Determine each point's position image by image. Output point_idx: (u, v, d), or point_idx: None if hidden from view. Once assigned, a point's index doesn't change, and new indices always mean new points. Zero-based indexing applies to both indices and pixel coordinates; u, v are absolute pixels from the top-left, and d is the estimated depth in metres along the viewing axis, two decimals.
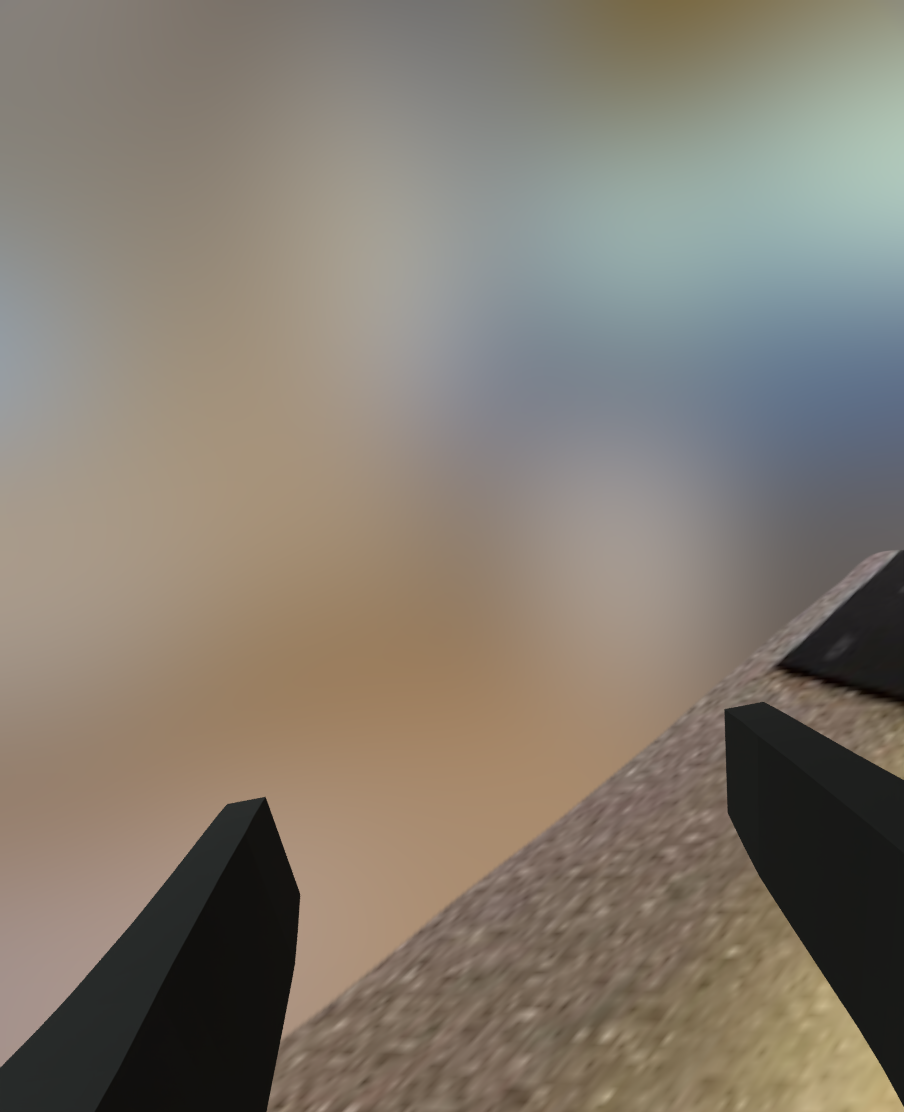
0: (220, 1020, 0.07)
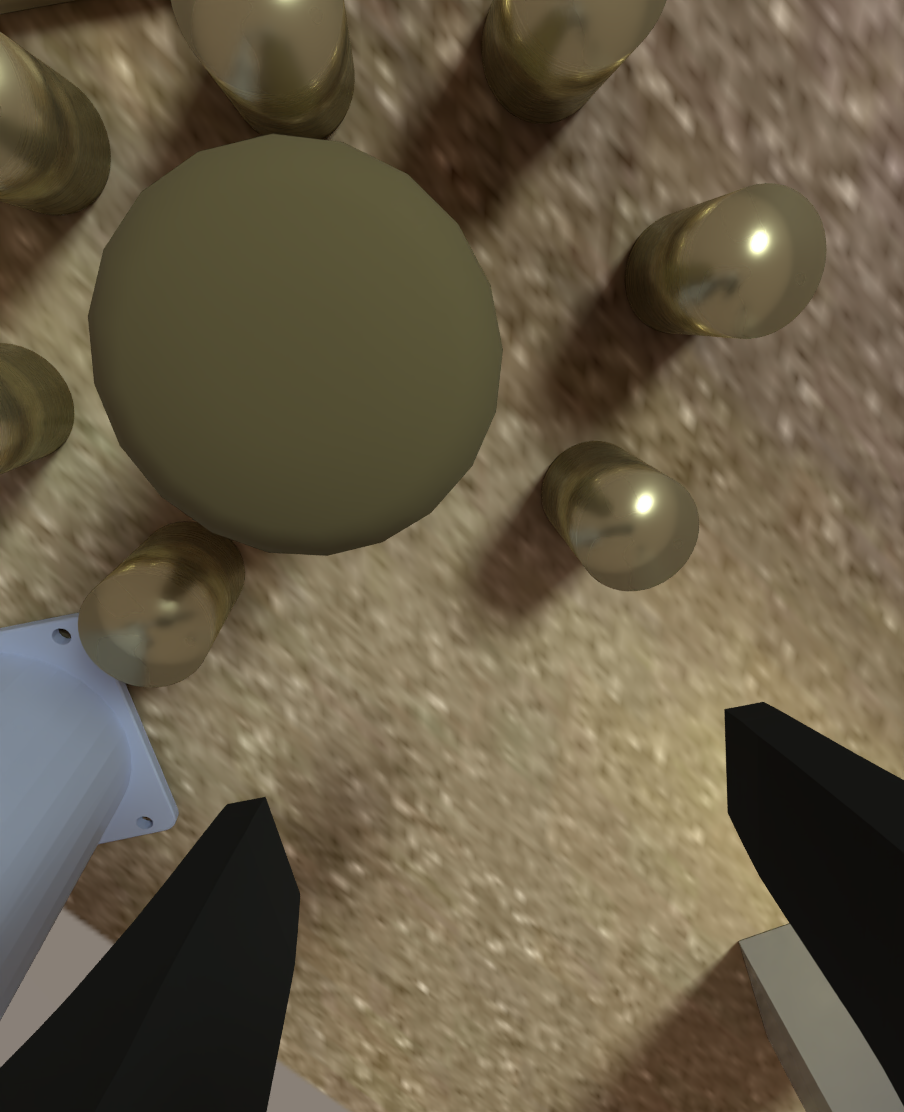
0: (220, 1020, 0.07)
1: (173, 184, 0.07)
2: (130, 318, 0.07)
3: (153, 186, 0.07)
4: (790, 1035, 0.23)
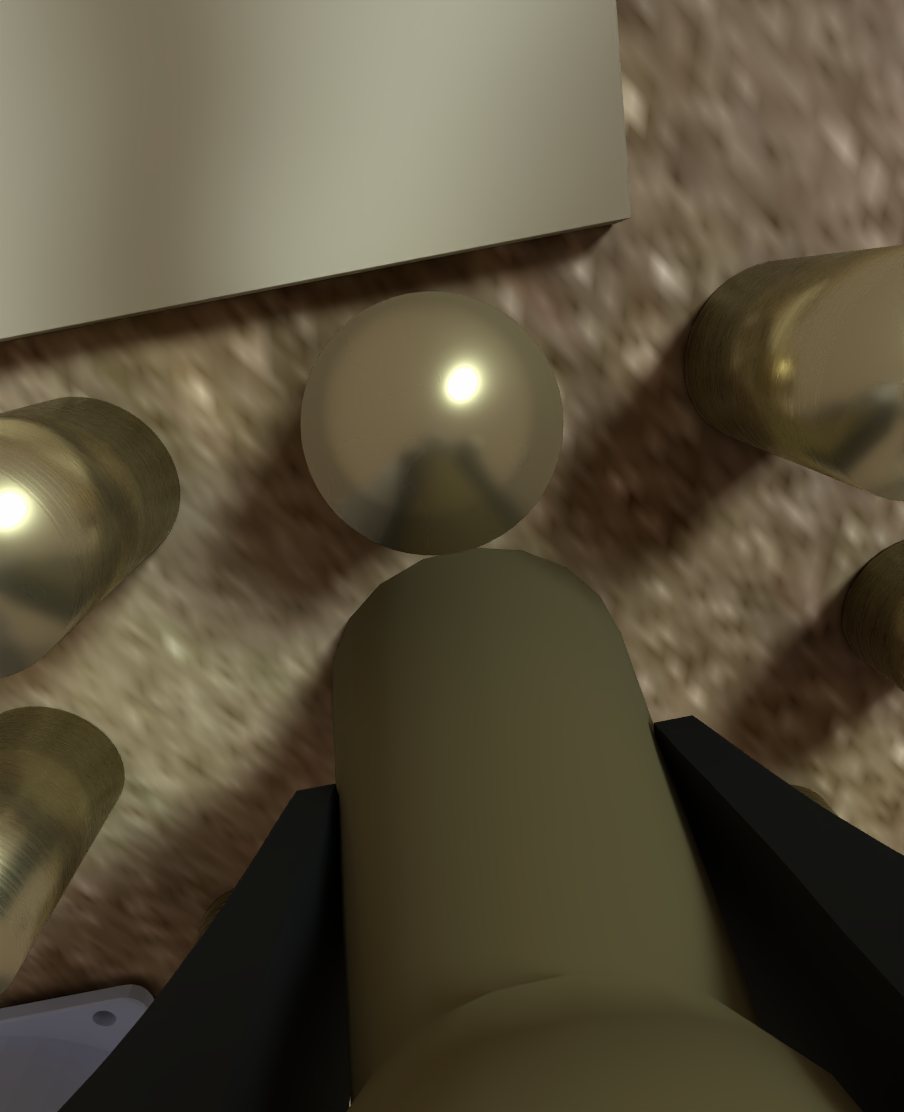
0: (311, 1003, 0.07)
1: None
2: None
3: None
4: None
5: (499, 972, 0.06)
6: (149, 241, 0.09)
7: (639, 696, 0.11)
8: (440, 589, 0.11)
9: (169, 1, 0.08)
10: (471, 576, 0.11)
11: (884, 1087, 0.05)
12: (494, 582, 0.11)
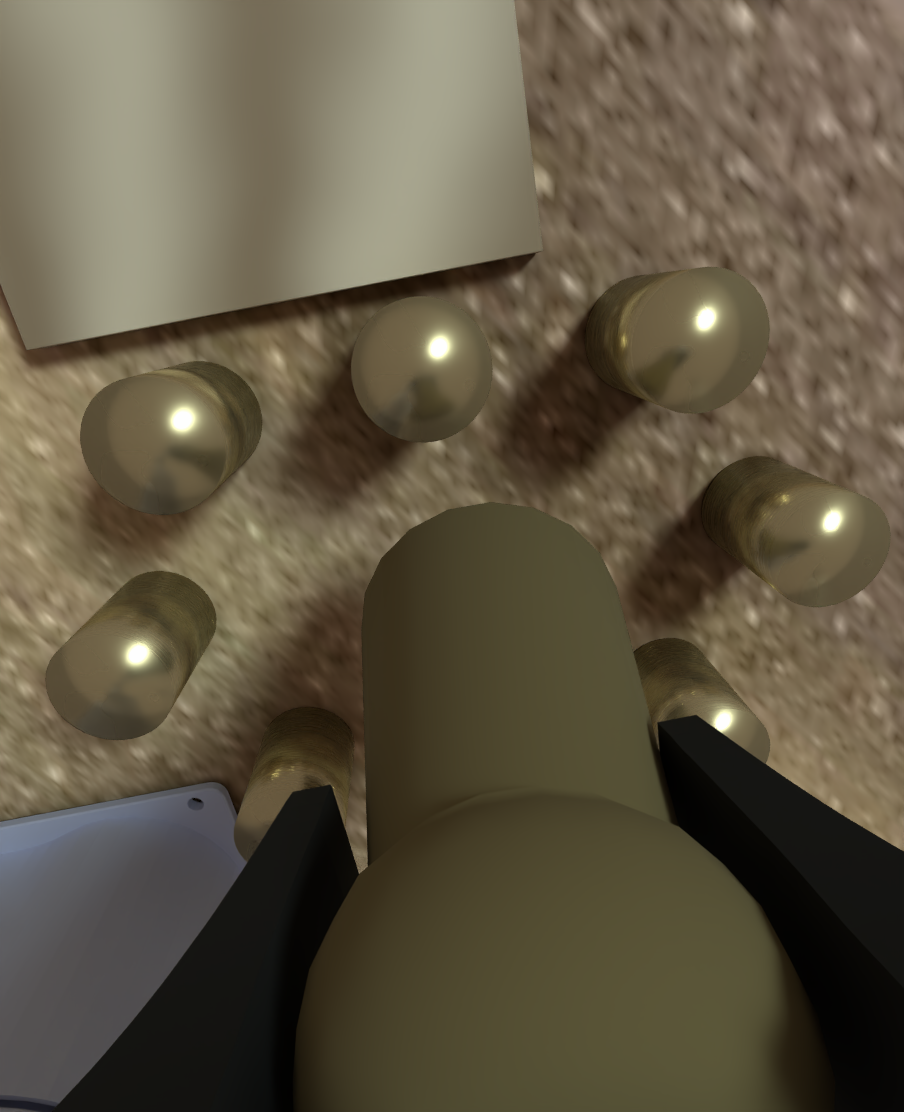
0: None
1: (449, 1040, 0.05)
2: None
3: (413, 1005, 0.05)
4: None
5: (486, 784, 0.08)
6: (254, 265, 0.16)
7: (623, 631, 0.12)
8: (460, 532, 0.13)
9: (272, 130, 0.15)
10: (487, 524, 0.13)
11: (891, 1085, 0.05)
12: (507, 529, 0.13)
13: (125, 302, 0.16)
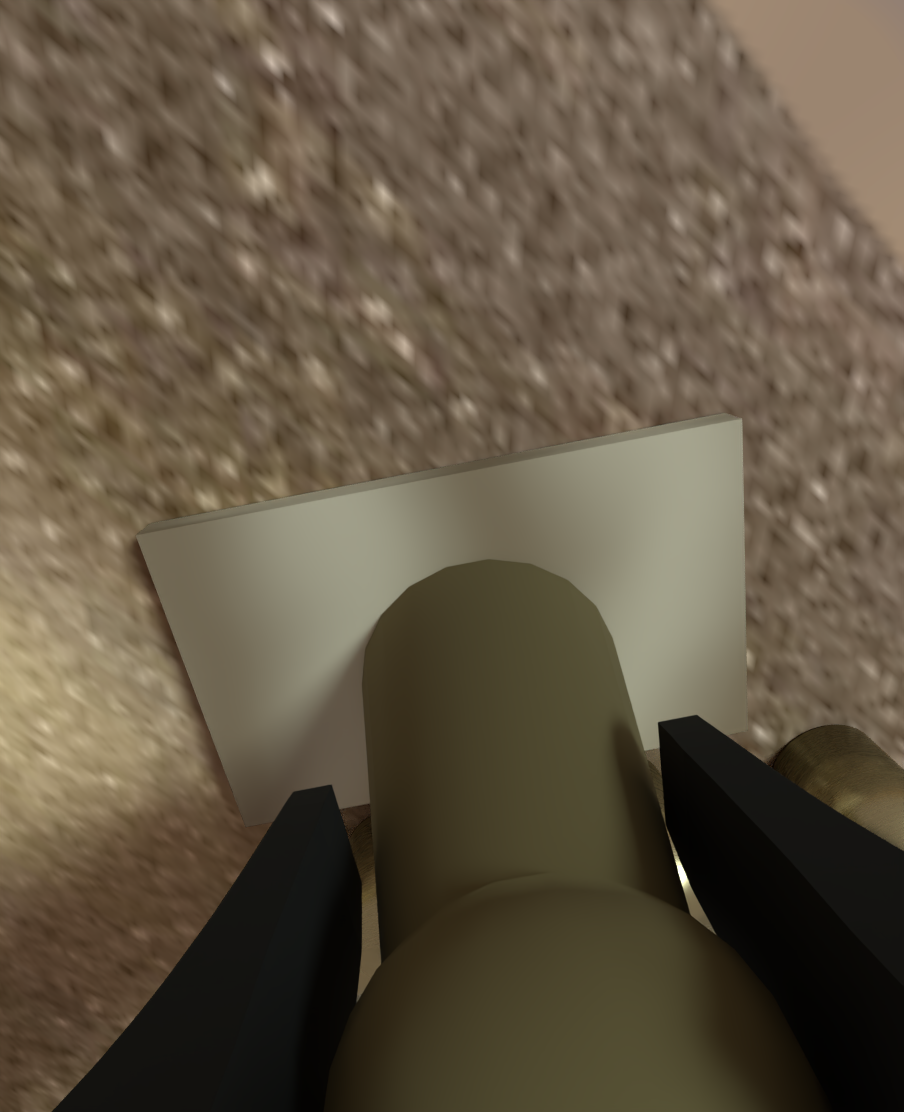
0: (307, 1004, 0.07)
1: None
2: None
3: None
4: None
5: (499, 870, 0.08)
6: None
7: (623, 689, 0.13)
8: (460, 592, 0.13)
9: None
10: (486, 583, 0.14)
11: (891, 1085, 0.05)
12: (506, 589, 0.13)
13: (345, 787, 0.16)
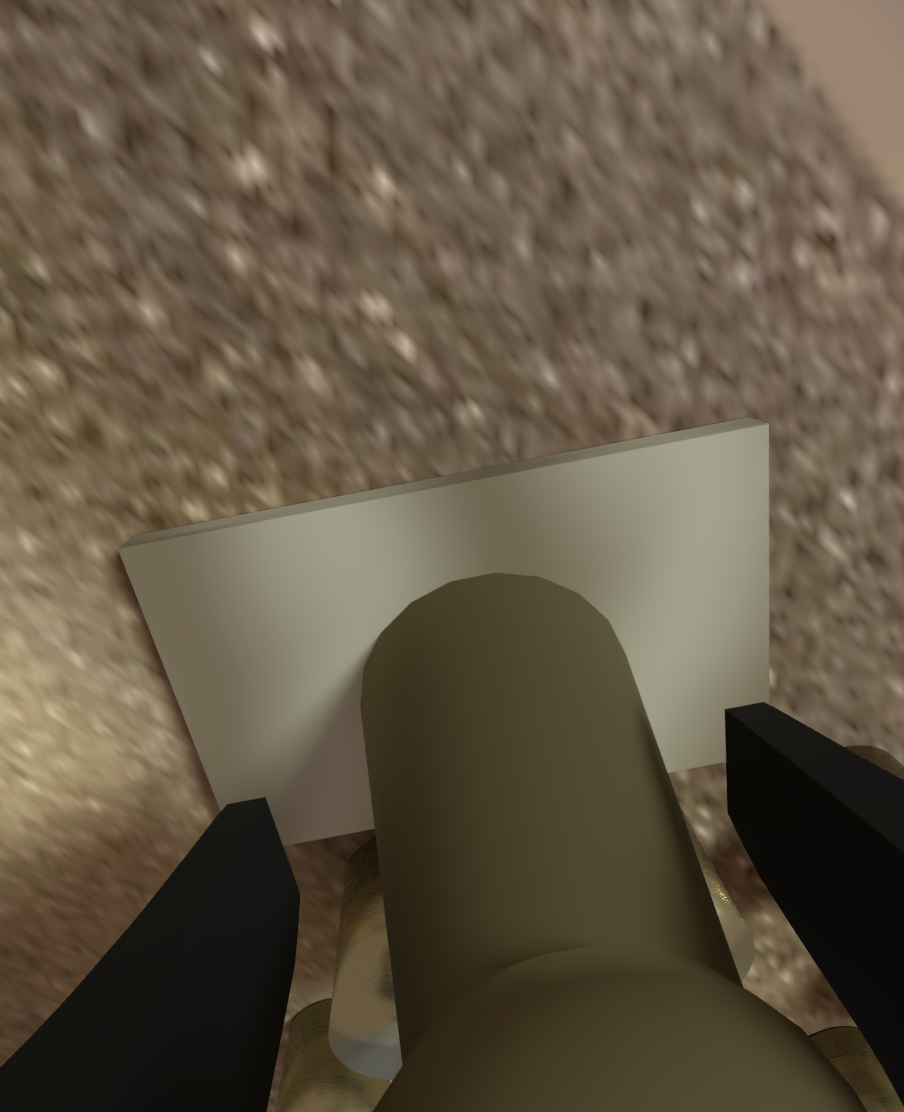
0: (220, 1020, 0.07)
1: None
2: None
3: None
4: None
5: (536, 942, 0.07)
6: None
7: (643, 713, 0.12)
8: (468, 610, 0.13)
9: None
10: (495, 599, 0.13)
11: None
12: (516, 606, 0.13)
13: (342, 813, 0.16)
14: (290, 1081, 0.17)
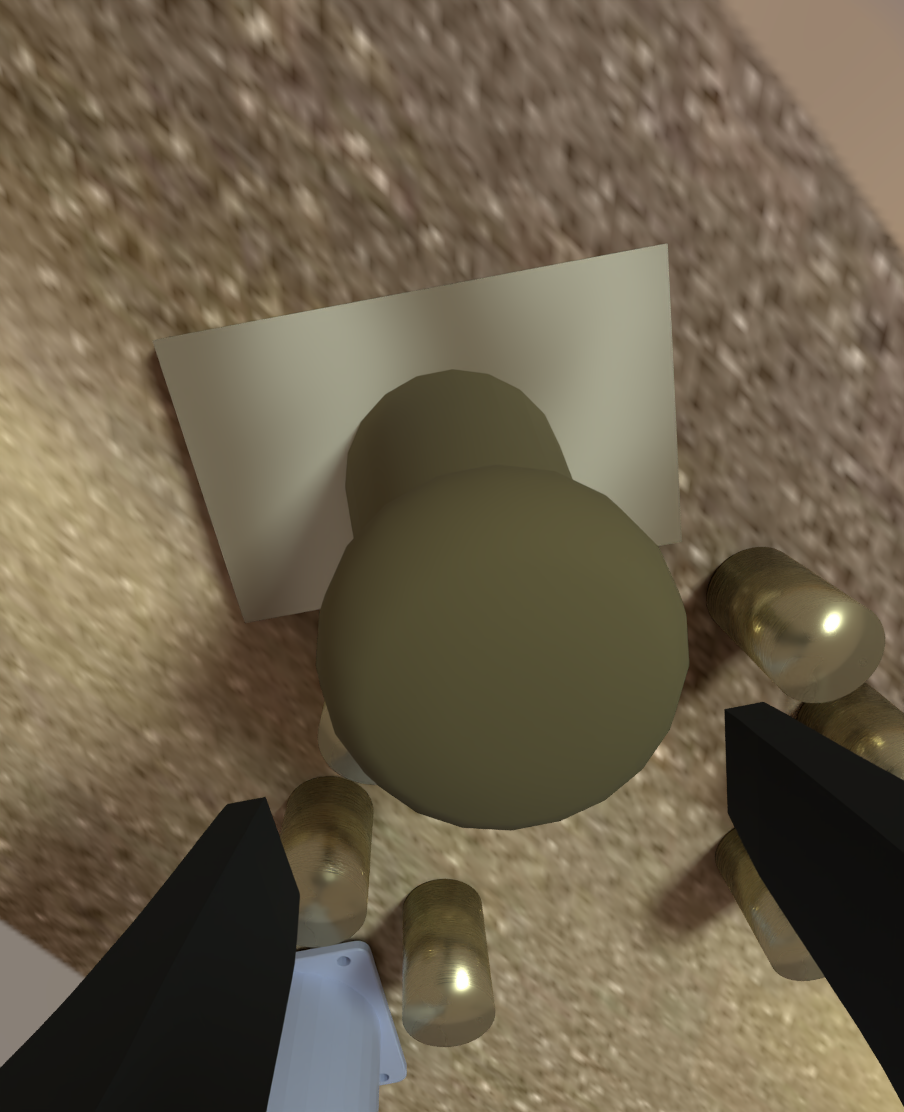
0: (220, 1020, 0.07)
1: (427, 547, 0.08)
2: (380, 664, 0.08)
3: (402, 538, 0.08)
4: None
5: None
6: None
7: (562, 456, 0.15)
8: (428, 385, 0.16)
9: None
10: (450, 379, 0.16)
11: None
12: (466, 382, 0.16)
13: None
14: (287, 828, 0.21)
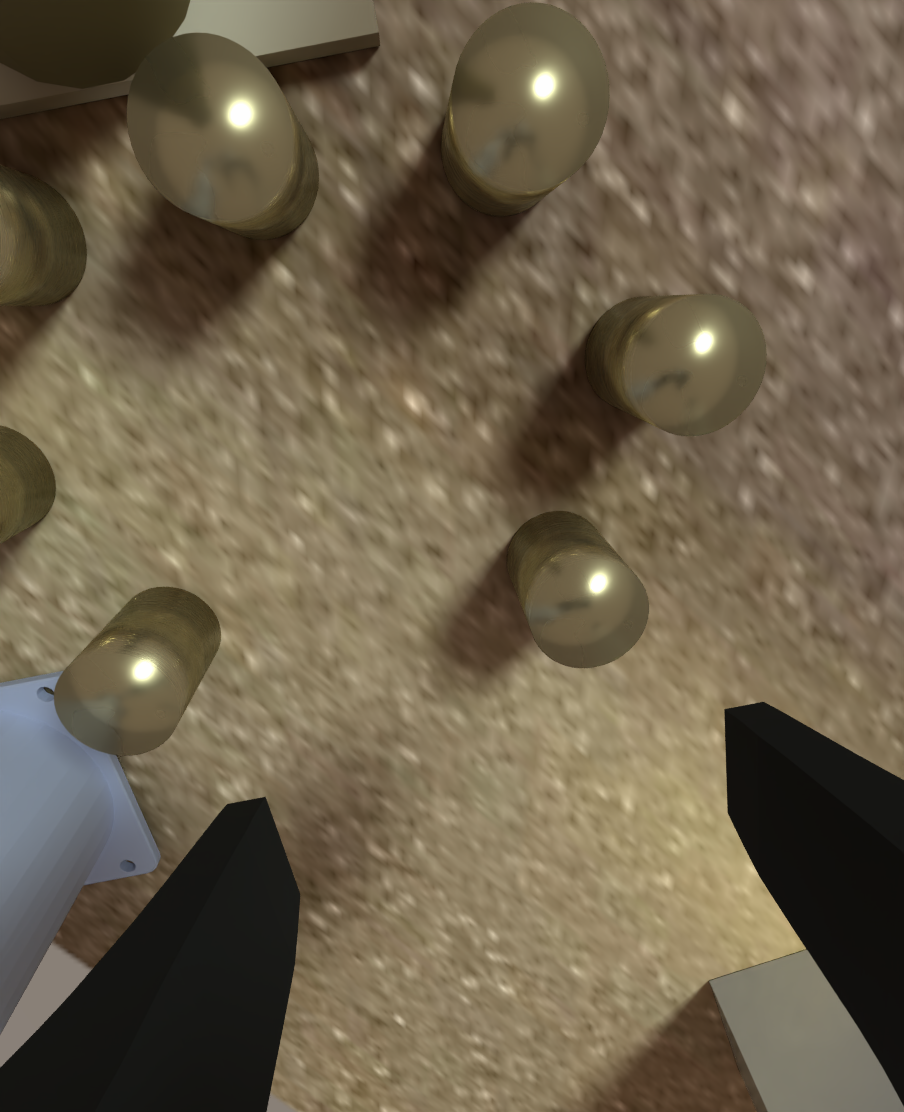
0: (220, 1020, 0.07)
1: None
2: None
3: None
4: (753, 1079, 0.24)
5: None
6: None
7: None
8: None
9: None
10: None
11: None
12: None
13: None
14: None
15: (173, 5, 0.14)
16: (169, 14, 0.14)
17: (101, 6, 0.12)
